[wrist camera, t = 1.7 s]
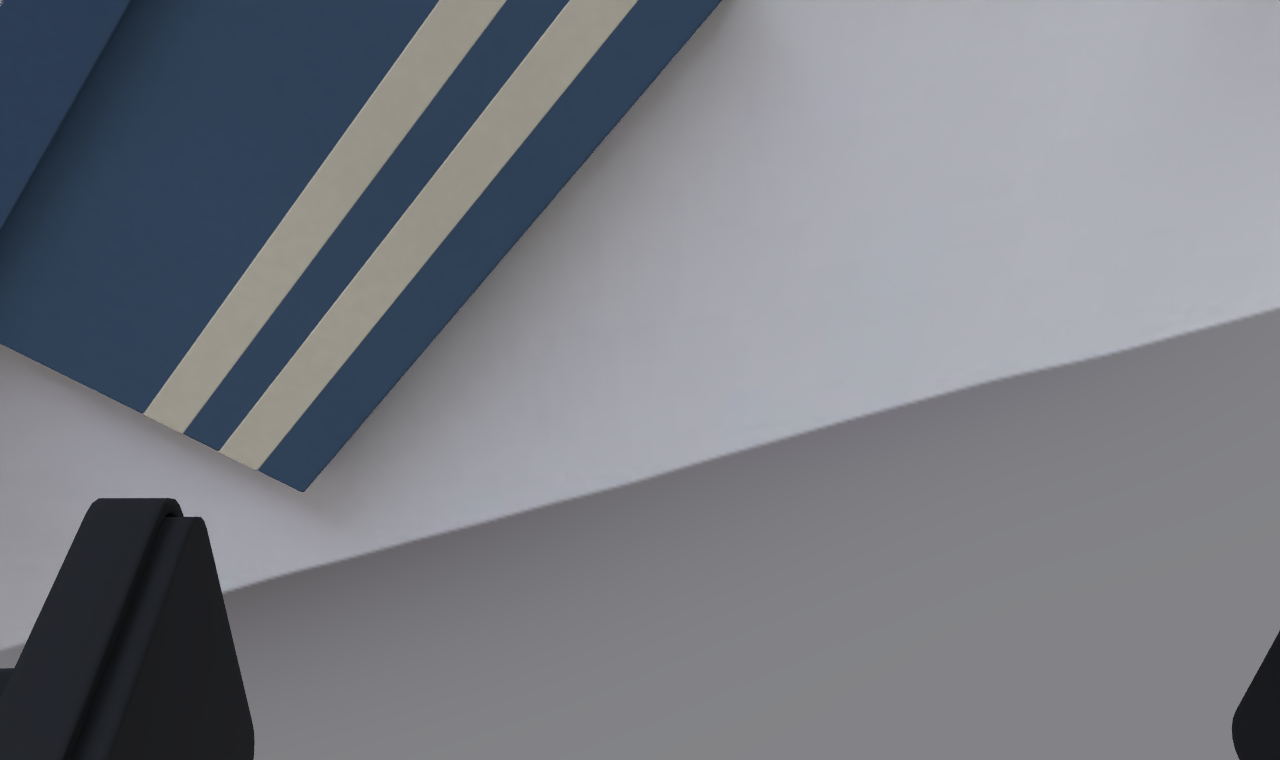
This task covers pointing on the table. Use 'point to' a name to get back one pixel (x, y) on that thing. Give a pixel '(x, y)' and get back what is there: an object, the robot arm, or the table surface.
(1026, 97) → the table surface
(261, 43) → the towel
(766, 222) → the table surface
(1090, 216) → the table surface
